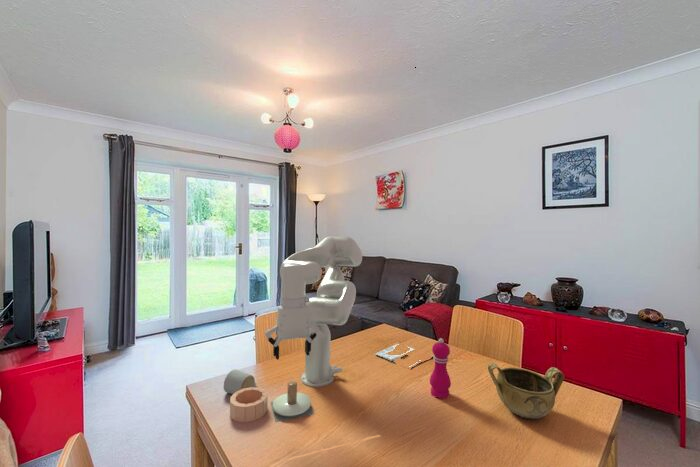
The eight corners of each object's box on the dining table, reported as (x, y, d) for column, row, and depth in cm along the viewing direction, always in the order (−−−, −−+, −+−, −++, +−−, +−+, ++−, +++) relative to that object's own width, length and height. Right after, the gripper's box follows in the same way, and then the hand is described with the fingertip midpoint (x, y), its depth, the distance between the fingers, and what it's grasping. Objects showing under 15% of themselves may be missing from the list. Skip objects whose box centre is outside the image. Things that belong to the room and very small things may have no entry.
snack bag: (399, 346, 155) (399, 342, 155) (434, 359, 140) (434, 354, 140) (373, 356, 142) (373, 352, 142) (409, 372, 127) (409, 367, 127)
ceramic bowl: (498, 426, 93) (499, 376, 92) (479, 395, 109) (480, 353, 109) (576, 431, 91) (578, 381, 90) (545, 399, 108) (546, 356, 107)
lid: (305, 394, 107) (306, 372, 107) (314, 414, 96) (315, 389, 96) (270, 401, 103) (270, 378, 102) (275, 422, 91) (276, 396, 91)
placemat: (306, 396, 106) (306, 395, 106) (314, 414, 96) (314, 413, 96) (270, 403, 102) (270, 402, 102) (275, 423, 92) (275, 422, 92)
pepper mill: (451, 391, 111) (453, 337, 111) (449, 402, 105) (450, 343, 105) (431, 387, 114) (432, 333, 114) (427, 396, 108) (428, 340, 108)
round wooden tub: (264, 399, 104) (265, 384, 104) (269, 418, 94) (269, 402, 94) (230, 406, 100) (230, 390, 100) (230, 426, 90) (230, 409, 90)
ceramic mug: (242, 402, 103) (242, 378, 103) (222, 396, 106) (223, 374, 106) (261, 387, 113) (262, 366, 113) (243, 382, 116) (244, 362, 115)
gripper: (316, 298, 105) (315, 348, 105) (264, 301, 99) (263, 354, 99) (322, 303, 98) (321, 356, 98) (266, 307, 92) (265, 364, 92)
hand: (292, 355), depth 99 cm, fingers open, 9 cm apart
